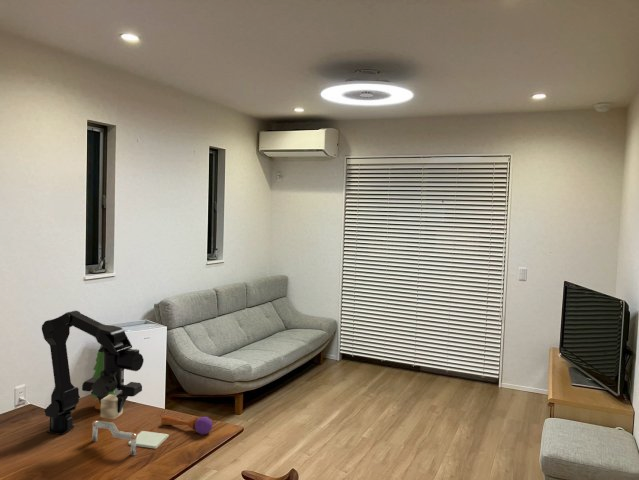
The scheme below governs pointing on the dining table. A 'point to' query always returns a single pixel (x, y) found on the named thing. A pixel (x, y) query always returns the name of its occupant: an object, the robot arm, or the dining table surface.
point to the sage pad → (149, 439)
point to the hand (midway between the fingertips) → (111, 411)
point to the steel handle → (114, 433)
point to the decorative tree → (98, 369)
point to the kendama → (190, 423)
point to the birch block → (110, 407)
